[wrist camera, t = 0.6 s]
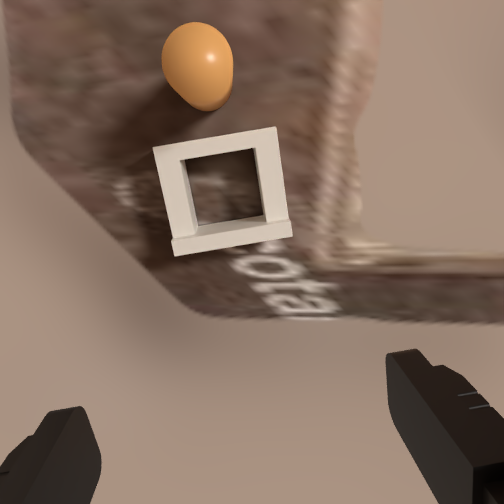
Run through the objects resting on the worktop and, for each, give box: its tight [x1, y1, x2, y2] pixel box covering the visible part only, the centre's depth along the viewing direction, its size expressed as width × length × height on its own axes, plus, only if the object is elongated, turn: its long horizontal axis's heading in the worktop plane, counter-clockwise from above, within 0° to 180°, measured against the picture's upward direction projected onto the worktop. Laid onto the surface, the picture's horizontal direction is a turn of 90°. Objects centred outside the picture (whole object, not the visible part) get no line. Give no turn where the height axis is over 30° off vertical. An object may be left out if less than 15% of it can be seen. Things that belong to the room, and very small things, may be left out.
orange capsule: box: [162, 22, 233, 111], centre depth 25 cm, size 4×4×8 cm
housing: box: [153, 127, 293, 256], centre depth 30 cm, size 8×9×4 cm
